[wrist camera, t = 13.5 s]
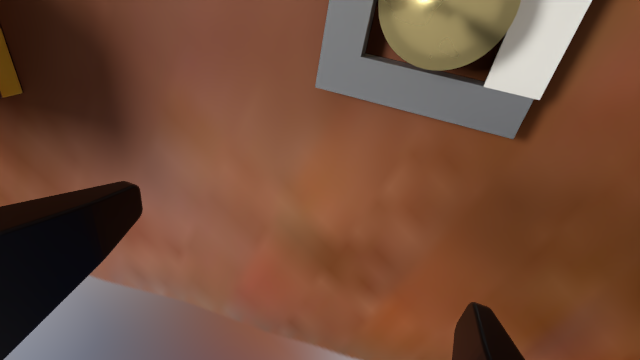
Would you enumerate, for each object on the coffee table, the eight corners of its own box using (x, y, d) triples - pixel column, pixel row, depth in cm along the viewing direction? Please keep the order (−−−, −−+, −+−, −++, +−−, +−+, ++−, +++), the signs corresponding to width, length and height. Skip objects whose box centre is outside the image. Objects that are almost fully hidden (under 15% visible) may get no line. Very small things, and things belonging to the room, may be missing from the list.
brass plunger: (539, -63, 13) (552, -71, 11) (481, 75, 15) (486, 84, 14) (403, -85, 14) (399, -95, 12) (371, 49, 16) (364, 54, 15)
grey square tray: (646, -130, 12) (667, -143, 11) (512, 131, 17) (517, 141, 16) (364, -165, 14) (357, -180, 12) (321, 82, 19) (314, 87, 18)
